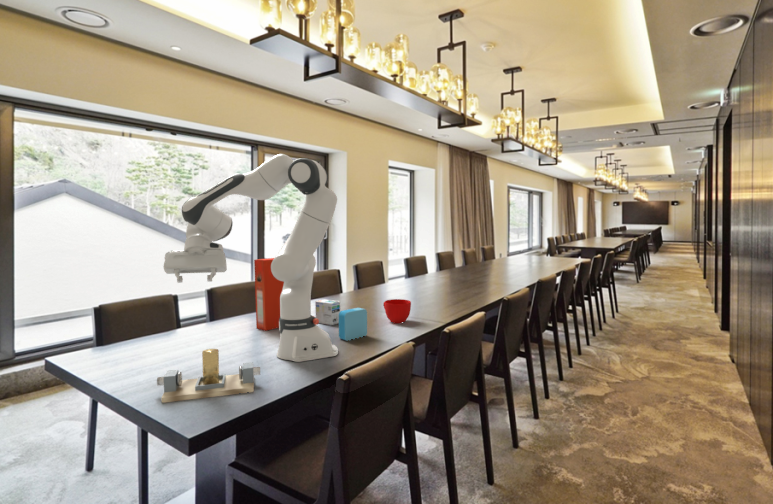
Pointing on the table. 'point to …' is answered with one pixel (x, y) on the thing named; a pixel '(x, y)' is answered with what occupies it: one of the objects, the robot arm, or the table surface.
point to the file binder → (267, 295)
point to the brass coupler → (210, 366)
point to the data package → (352, 323)
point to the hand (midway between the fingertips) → (194, 281)
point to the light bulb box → (327, 311)
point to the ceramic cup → (397, 310)
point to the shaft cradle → (195, 389)
